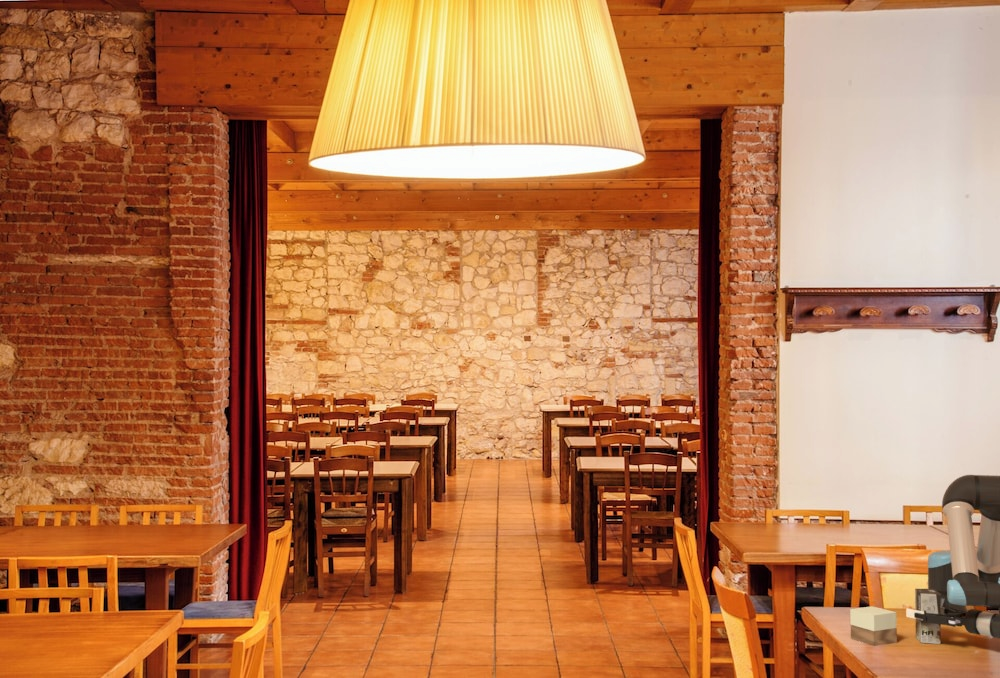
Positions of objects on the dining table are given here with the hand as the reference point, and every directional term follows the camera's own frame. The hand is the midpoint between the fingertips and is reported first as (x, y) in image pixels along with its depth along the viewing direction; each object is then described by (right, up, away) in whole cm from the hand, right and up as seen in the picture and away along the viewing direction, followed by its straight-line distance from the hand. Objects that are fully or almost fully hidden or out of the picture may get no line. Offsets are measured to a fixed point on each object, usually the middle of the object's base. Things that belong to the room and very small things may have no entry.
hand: (916, 610), depth 344 cm
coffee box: (+2, -9, -4) cm, 10 cm away
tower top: (-16, -4, -4) cm, 17 cm away
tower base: (-16, -9, -5) cm, 19 cm away
